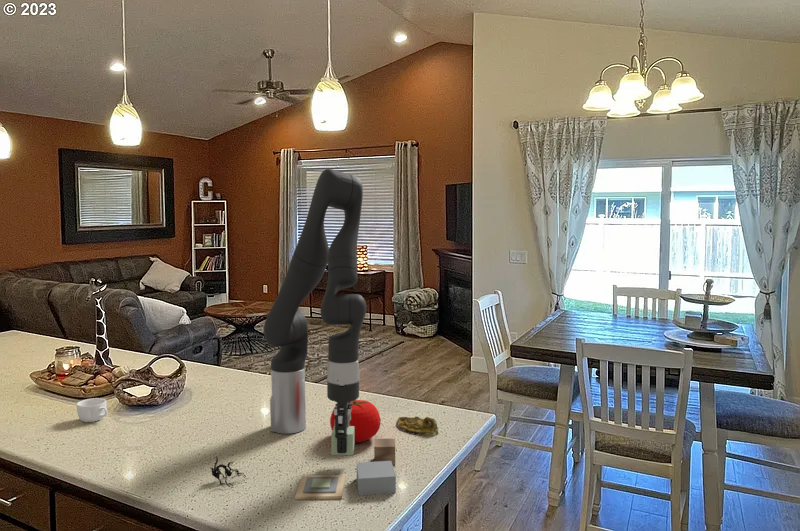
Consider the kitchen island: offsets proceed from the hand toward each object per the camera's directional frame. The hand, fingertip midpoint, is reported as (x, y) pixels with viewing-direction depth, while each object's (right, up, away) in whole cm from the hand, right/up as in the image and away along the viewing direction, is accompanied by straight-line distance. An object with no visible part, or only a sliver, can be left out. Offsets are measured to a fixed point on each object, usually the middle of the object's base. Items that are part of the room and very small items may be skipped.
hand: (343, 447), depth 140 cm
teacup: (-76, -2, +32) cm, 82 cm away
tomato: (+2, -3, +18) cm, 18 cm away
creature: (-25, -6, -7) cm, 27 cm away
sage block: (0, -1, 0) cm, 1 cm away
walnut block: (+10, -5, +3) cm, 11 cm away
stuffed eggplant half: (+19, -3, +26) cm, 32 cm away
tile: (-4, -6, -10) cm, 12 cm away
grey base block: (+8, -6, -9) cm, 14 cm away
